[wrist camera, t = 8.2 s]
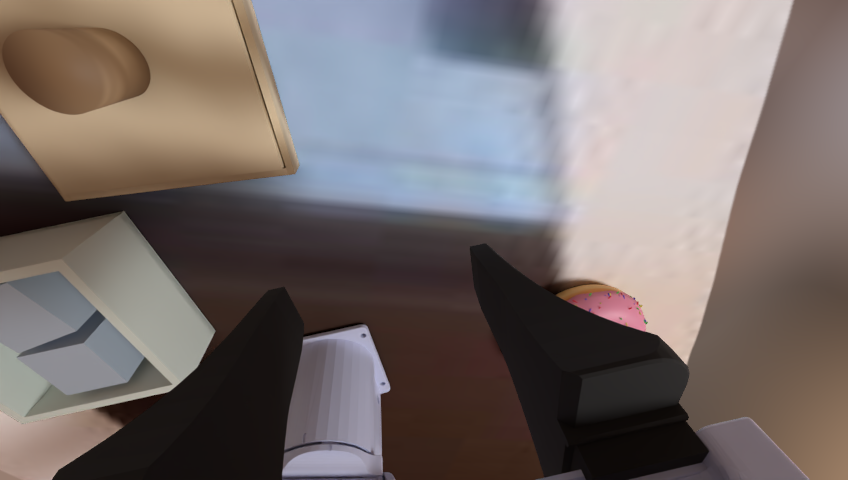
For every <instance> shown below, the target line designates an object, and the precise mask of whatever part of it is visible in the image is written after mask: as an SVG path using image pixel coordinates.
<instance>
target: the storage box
mask: <svg viewBox="0 0 848 480" xmlns="http://www.w3.org/2000/svg"><path fill="white" fill-rule="evenodd" d="M56 271H59V272H60V273H61V274H62V275H63V276H64V277H65V278H66V279H67V280H68V281H69V282H70V283H71V284H72V285H73V286H74V287H75V288H76V289H77V290H78V291H79V292H80V293H81V294H82V295H83V296H84V297H85V298H86V299H87V300H88V301H89V302H90V303H91V304H92V305H93V306H94V307H95V308H96V309H97V310H98V311H99V312H100V313H101V314H102V315H103V316H104V317H105V318H106V319H107V320H108V321H109V322H110V323H111V324H112V325H113V326H114V327H115V328H116V329H117V330H118V331H119V332H120V333H121V334H122V335H123V336H124V337H125V338H126V339H127V340H128V341H129V342H130V343H131V344H132V345H133V346H134V347H135V348H136V349H137V350H138V351H140V352H141V353H142V354H143V355H144V356H145V357H144V359H143V360H142V362H141V363H140V365H139V366H138V368H137V369H136V371H135V372H134V374H133V375H132V377H131V378H130V380H129V381H128V382H127V383H122V384H117V385H113V386H108V387H104V388H99V389H95V390H90V391H86V392H81V393H77V394H72V395H66V394H64V393H63V392H62V391H60V390H59V389H58V388H56V387H55V386H54V385H52V384H51V383H50V382H48V381H47V380H45V379H44V378H43V377H41V376H40V375H39V374H37V373H36V372H35V371H33V370H32V369H31V368H29V367H28V366H27V365H25V364H24V363H23V362H21V361H20V360H19V359H17V358H16V357H17V356H18V355H20V354H21V353H22V352H21V353H17V352H15V351H14V350H12V349H10V348H9V347H7V346H5V345H3V344H2V343H0V411H2V412H3V413H5V414H7V415H8V416H10V417H11V418H13V419H15V420H16V421H18V422H20V423H21V424H26V423H30V422H35V421H39V420H44V419H48V418H53V417H57V416H62V415H67V414H71V413H76V412H80V411H85V410H89V409H94V408H98V407H103V406H107V405H112V404H116V403H121V402H125V401H130V400H134V399H139V398H144V397H148V396H153V395H157V394H162V393H166V392H170V391H171V390H172V389H173V388H174V387H176V386H177V385H178V384H179V383H180V382H182V381H183V380H184V379H185V378H186V377H187V376H188V375H189V374H190V373H192V372H193V371H194V370H195V369H196V368H197V367H198V365H199V363H200V361H201V359H202V357H203V355H204V353H205V351H206V349H207V347H208V345H209V343H210V341H211V339H212V337H213V335H214V333H215V329H214V328H213V327H212V325H211V324H210V323H209V321H208V320H207V319H206V318H205V316H204V315H203V314H202V312H201V311H200V310H199V308H198V307H197V306H196V304H195V303H194V302H193V301H192V299H191V298H190V297H189V295H188V294H187V293H186V291H185V290H184V289H183V287H182V286H181V285H180V284H179V282H178V281H177V280H176V278H175V277H174V276H173V274H172V273H171V272H170V270H169V269H168V268H167V267H166V265H165V264H164V263H163V261H162V260H161V259H160V257H159V256H158V255H157V253H156V252H155V251H154V249H153V248H152V247H151V246H150V244H149V243H148V242H147V240H146V239H145V238H144V236H143V235H142V234H141V232H140V231H139V230H138V229H137V227H136V226H135V225H134V223H133V222H132V221H131V219H130V218H129V217H128V215H127V214H126V213H125V212H124V211H121V212H117V213H112V214H107V215H102V216H98V217H93V218H88V219H83V220H79V221H74V222H69V223H64V224H59V225H55V226H50V227H45V228H40V229H36V230H31V231H26V232H21V233H17V234H12V235H7V236H2V237H0V283H4V282H9V281H13V280H18V279H23V278H28V277H32V276H37V275H42V274H46V273H51V272H56Z"/></svg>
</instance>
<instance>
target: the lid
mask: <svg viewBox="0 0 848 480" xmlns="http://www.w3.org/2000/svg"><path fill="white" fill-rule="evenodd" d="M0 113H1V115H2V116H3V117H4V119H5V120H6V122H7V123H8V124H9V126H10V127H11V128H12V130H13V131H14V132H15V134H16V135H17V136H18V138H19V139H20V140H21V142H22V143H23V144H24V146H25V147H26V149H27V150H28V151H29V153H30V154H31V155H32V157H33V158H34V159H35V161H36V162H37V163H38V165H39V166H40V167H41V169H42V170H43V171H44V173H45V174H46V176H47V177H48V178H49V180H50V181H51V182H52V184H53V185H54V186H55V188H56V189H57V190H58V192H59V193H60V194H61V196H62V197H63V198H64V200H65V201H74V200H83V199H91V198H99V197H108V196H116V195H124V194H133V193H141V192H149V191H158V190H166V189H174V188H183V187H191V186H199V185H208V184H216V183H224V182H233V181H241V180H249V179H258V178H266V177H274V176H283V175H291V174H295V173H296V171H297V169H298V167H299V162H298V158H297V155H296V152H295V148H294V145H293V141H292V138H291V134H290V131H289V128H288V124H287V121H286V117H285V114H284V111H283V107H282V104H281V100H280V97H279V93H278V90H277V87H276V83H275V80H274V76H273V73H272V70H271V66H270V63H269V59H268V56H267V52H266V49H265V46H264V42H263V39H262V35H261V32H260V29H259V25H258V22H257V18H256V15H255V11H254V8H253V5H252V1H251V0H0Z"/></svg>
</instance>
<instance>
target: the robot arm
mask: <svg viewBox="0 0 848 480" xmlns="http://www.w3.org/2000/svg"><path fill="white" fill-rule="evenodd" d="M470 253H471V262H472V271H473V281H474V288H475V291H476V294H477V297H478V300H479V303H480V306H481V309H482V311H483V313H484V316H485V318H486V320H487V322H488V324H489V326H490V328H491V331H492V333H493V335H494V337H495V339H496V341H497V343H498V345H499V348H500V350H501V352H502V354H503V356H504V359H505V361H506V363H507V366H508V368H509V371H510V374H511V377H512V380H513V382H514V385H515V388H516V391H517V394H518V397H519V400H520V403H521V406H522V409H523V412H524V414H525V417H526V420H527V424H528V427H529V430H530V433H531V436H532V439H533V442H534V445H535V448H536V451H537V454H538V458H539V461H540V464H541V467H542V470H543V474H544V477H545V478H541V479H537V480H810V479H809V478H808V477H807V476H806V475H805V474H804V473H803V472H802V471H801V470H800V469H799V468H798V467H797V466H796V465H795V464H794V463H793V462H792V461H791V460H790V459H789V458H788V457H787V455H786V454H785V453H784V452H783V451H782V450H781V449H780V448H779V447H778V446H777V445H776V444H775V443H774V442H773V441H772V440H771V439H770V438H769V437H768V436H767V435H766V434H765V433H764V432H763V430H762V429H760V427H759V426H758V425H757V424H756V423H755V422H754V421H753V420H752V419H751V418H748V417H743V418H739V419H734V420H730V421H726V422H721V423H717V424H712V425H709V426H706V427H703V428H701V429H700V430H698V431H697V432H696V433H695V432H694V431H693V430H692V428H691V427H690V426H689V425H688V423H687V422H686V420H688V418H689V417H688V414H687V413H686V412H685V410H684V409H683V408H682V407H681V405H680V404H679V403H678V402H679V400H680V398H681V396H682V394H683V391H684V389H685V387H686V385H687V382H688V378H689V369H688V366H687V365H686V364H685V363H684V362H683V361H682V360H681V359H680V358H679V357H678V355H677V354H676V353H675V352H674V351H673V350H672V349H671V348H670V347H669V346H668V345H667V344H666V343H665V342H664V341H663V340H662V339H661V338H660V337H659V336H658V335H654V334H651V333H648V332H645V331H641V330H638V329H635V328H632V327H628V326H625V325H622V324H619V323H616V322H614V321H611V320H608V319H606V318H603V317H600V316H598V315H596V314H593V313H591V312H588V311H586V310H584V309H582V308H580V307H578V306H575V305H573V304H571V303H569V302H567V301H565V300H563V299H561V298H559V297H558V296H556V295H554V294H552V293H551V292H549V291H547V290H545V289H544V288H542V287H541V286H539V285H538V284H536V283H535V282H533V281H532V280H530V279H529V278H527V277H526V276H525V275H523V274H522V273H521V272H519V271H518V270H517V269H515V268H514V267H513V266H512V265H510V264H509V263H508V262H507V261H505V260H504V259H503V258H502V257H501V256H500V255H498V254H497V253H496V252H495V251H494V250H493V249H492V248H491V247H489V246H488V245H487V244H480V245H476V246H471V247H470ZM303 334H304V323H303V321H302V319H301V317H300V315H299V313H298V311H297V310H296V308H295V306H294V304H293V302H292V300H291V298H290V296H289V295H288V293H287V291H286V289H285V287H281V288H277V289H272V290H268V291H267V292H266V293H265V294H264V296H263V297H262V298H261V299H260V300H259V301H258V302H257V303H256V305H255V306H254V307H253V308H252V309H251V310H250V311H249V313H248V314H247V315H246V316H245V317H244V318H243V320H242V321H241V322H240V323H239V324H238V325H237V326H236V328H235V329H234V330H233V331H232V332H231V333H230V334H229V335H228V336H227V337H226V338H225V340H224V341H223V342H222V343H221V344H220V345H219V346H218V347H217V348H216V349H215V350H214V351H213V352H212V353H211V354H210V355H209V356H208V357H207V358H206V359H205V360H204V361H203V362H202V363H201V364H200V365H199V366H198V367H197V368H196V369H195V370H194V371H193V372H192V373H190V374H189V375H188V376H187V377H186V378H185V379H184V380H183V381H182V382H180V383H179V384H178V385H177V386H176V387H174V388H173V389H172V390H171V391H170V392H168V393H167V394H166V395H165V396H163V397H162V398H161V399H160V400H159V401H157V402H156V403H155V404H154V405H152V406H151V407H150V408H149V409H147V410H146V411H145V412H143V413H142V414H141V415H139V416H138V417H137V418H135V419H134V420H133V421H131V422H130V423H129V424H127V425H126V426H124V427H123V428H122V429H120V430H119V431H117V432H116V433H115V434H113V435H112V436H110V437H109V438H107V439H106V440H104V441H103V442H101V443H100V444H98V445H97V446H95V447H94V448H92V449H91V450H89V451H88V452H86V453H84V454H83V455H81V456H80V457H78V458H77V459H75V460H74V461H72V462H71V463H69V464H67V465H66V466H64V467H63V468H61V469H59V470H58V472H57V473H56V475H55V476H54V477H53V479H52V480H395V478H394V476H393V475H392V474H391V473H389V472H385V473H383V465H382V435H381V397H380V394H381V393H386V392H388V391H389V390H390V384H389V382H388V379H387V377H386V374H385V371H384V369H383V366H382V363H381V361H380V358H379V356H378V353H377V350H376V348H375V345H374V343H373V340H372V337H371V335H370V332H369V330H368V327H367V326H366V325H363V324H362V325H356V326H352V327H347V328H343V329H338V330H334V331H329V332H324V333H320V334H315V335H311V336H306V337H303Z"/></svg>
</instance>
